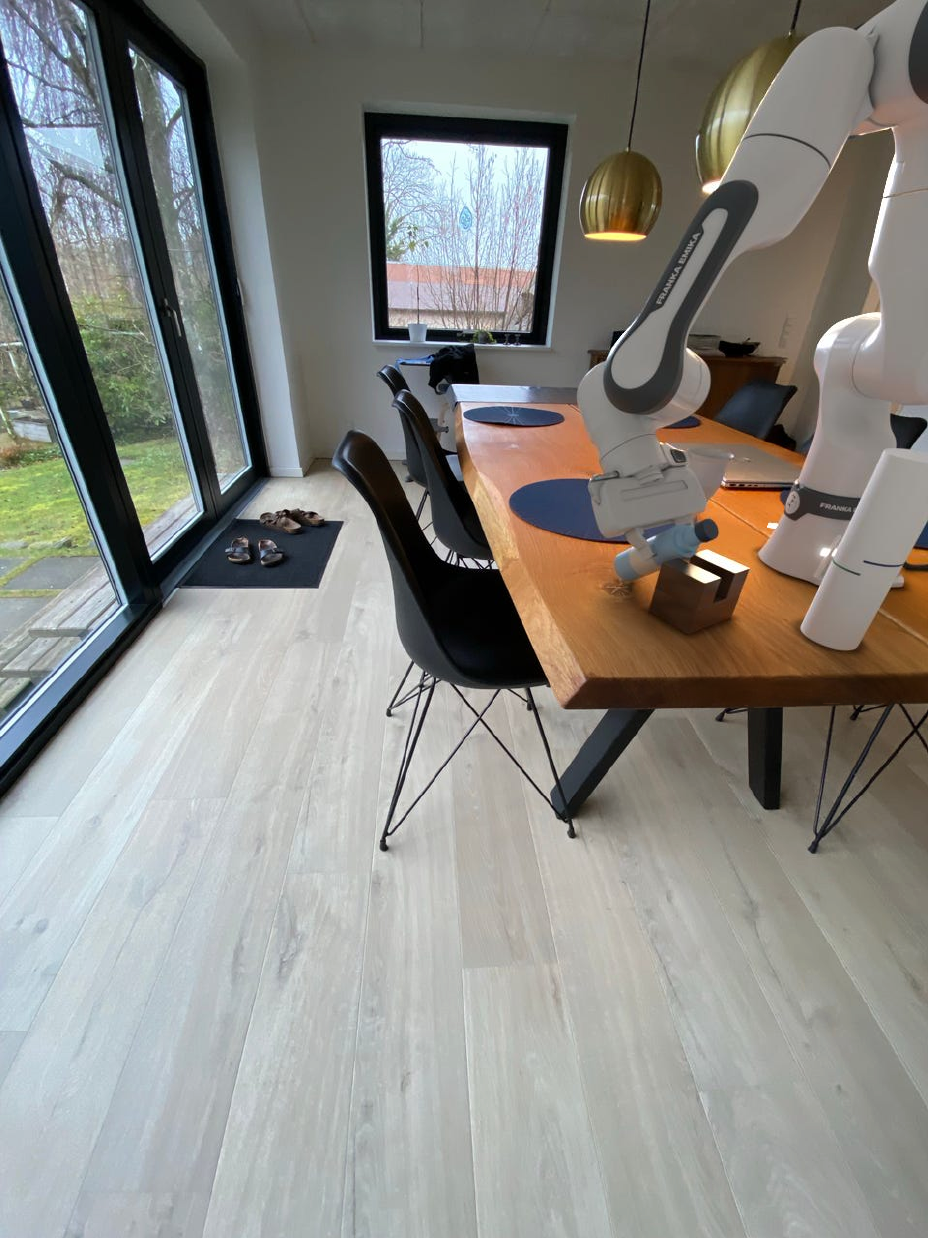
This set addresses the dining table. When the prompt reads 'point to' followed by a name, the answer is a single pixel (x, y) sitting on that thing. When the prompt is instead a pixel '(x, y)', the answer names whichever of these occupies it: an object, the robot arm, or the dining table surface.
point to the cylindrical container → (871, 550)
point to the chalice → (708, 468)
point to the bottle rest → (697, 591)
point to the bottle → (665, 549)
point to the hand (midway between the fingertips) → (670, 552)
